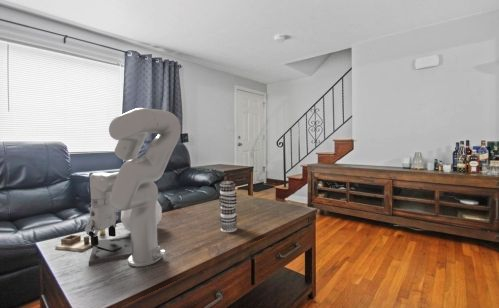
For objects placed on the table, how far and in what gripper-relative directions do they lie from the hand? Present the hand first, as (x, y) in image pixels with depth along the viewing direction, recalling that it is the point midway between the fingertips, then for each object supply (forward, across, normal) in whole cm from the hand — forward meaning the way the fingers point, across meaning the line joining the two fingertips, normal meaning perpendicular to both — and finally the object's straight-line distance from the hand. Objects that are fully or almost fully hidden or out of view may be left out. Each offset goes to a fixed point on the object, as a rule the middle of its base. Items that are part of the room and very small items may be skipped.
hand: (103, 240), depth 109 cm
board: (+4, +2, +16) cm, 16 cm away
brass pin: (+4, +15, +15) cm, 22 cm away
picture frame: (+5, +1, -4) cm, 6 cm away
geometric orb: (+4, +22, -3) cm, 23 cm away
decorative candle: (+4, +33, -46) cm, 57 cm away
